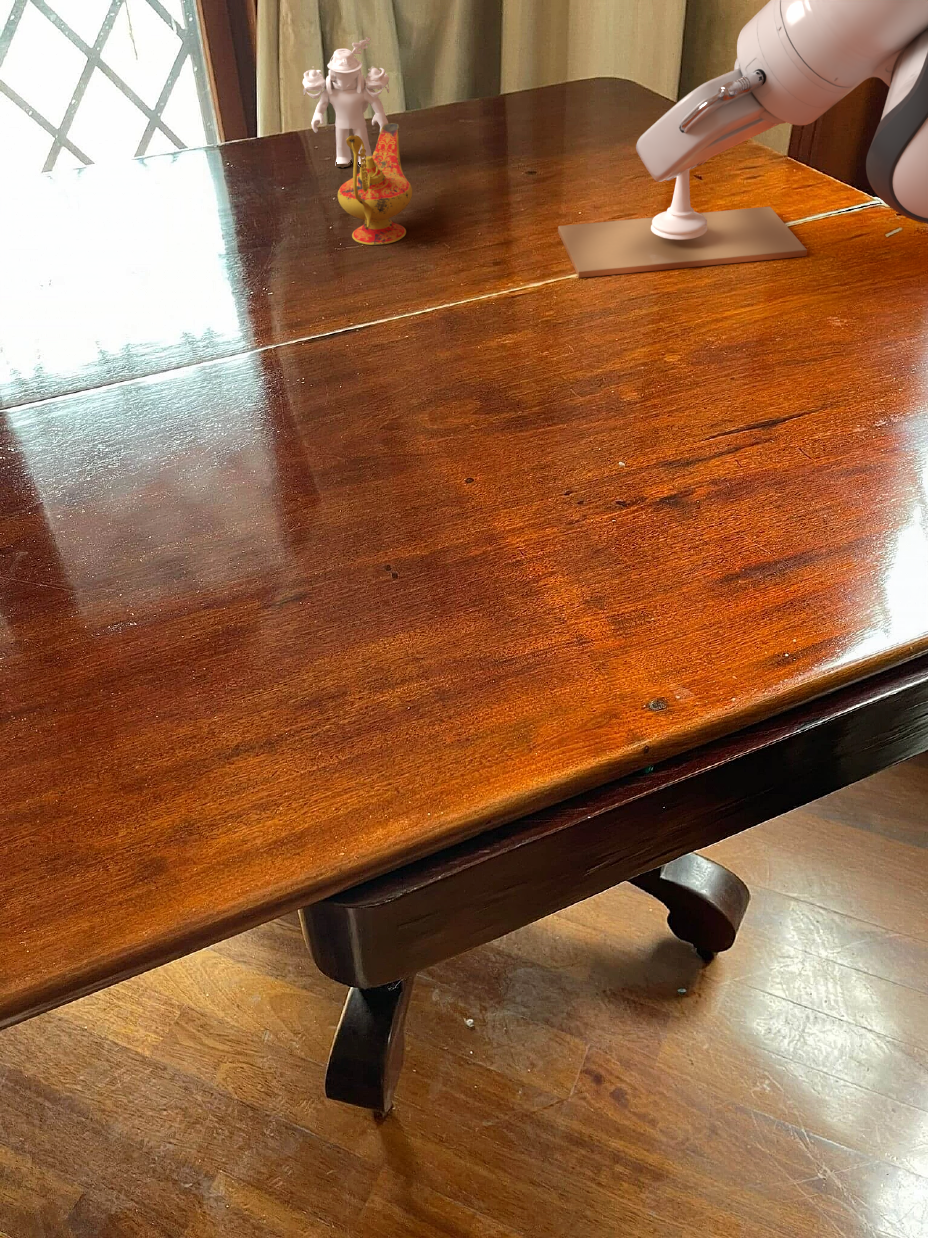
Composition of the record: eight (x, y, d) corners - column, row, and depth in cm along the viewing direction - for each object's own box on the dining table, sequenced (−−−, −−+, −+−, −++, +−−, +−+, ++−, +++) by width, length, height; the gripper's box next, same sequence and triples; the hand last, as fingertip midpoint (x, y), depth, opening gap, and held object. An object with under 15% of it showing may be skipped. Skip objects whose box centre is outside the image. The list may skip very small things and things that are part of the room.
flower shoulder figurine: (397, 155, 118) (387, 33, 110) (394, 168, 115) (382, 43, 108) (315, 157, 119) (299, 36, 111) (309, 170, 116) (292, 47, 108)
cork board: (769, 212, 102) (770, 206, 102) (806, 256, 95) (807, 249, 94) (557, 232, 101) (557, 225, 101) (578, 278, 94) (578, 271, 93)
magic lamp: (432, 191, 110) (424, 73, 103) (401, 267, 97) (390, 138, 90) (365, 191, 111) (353, 74, 104) (326, 266, 98) (308, 138, 90)
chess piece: (718, 226, 97) (730, 106, 90) (685, 244, 94) (696, 122, 87) (672, 213, 99) (681, 96, 93) (639, 231, 97) (646, 111, 90)
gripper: (739, 133, 77) (622, 236, 88) (885, 63, 87) (763, 163, 99) (692, 54, 76) (580, 168, 88) (844, -7, 87) (726, 102, 98)
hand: (678, 165), depth 94 cm, fingers closed on chess piece
